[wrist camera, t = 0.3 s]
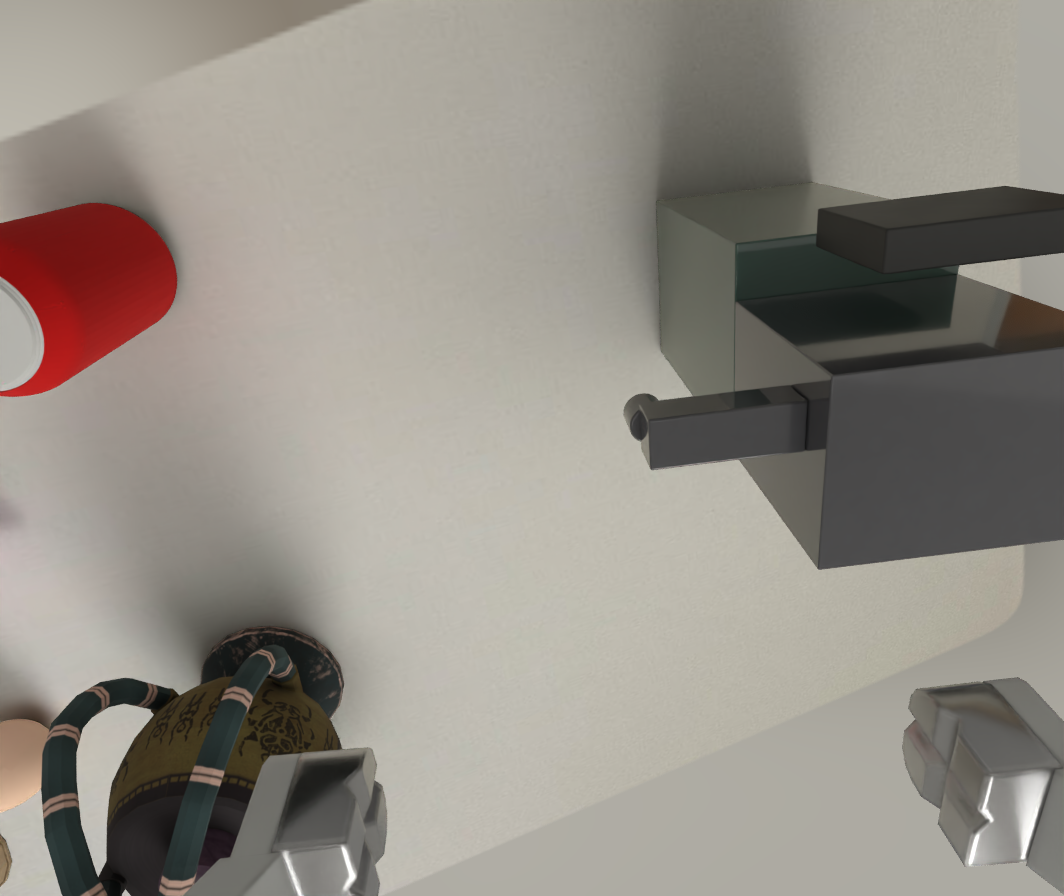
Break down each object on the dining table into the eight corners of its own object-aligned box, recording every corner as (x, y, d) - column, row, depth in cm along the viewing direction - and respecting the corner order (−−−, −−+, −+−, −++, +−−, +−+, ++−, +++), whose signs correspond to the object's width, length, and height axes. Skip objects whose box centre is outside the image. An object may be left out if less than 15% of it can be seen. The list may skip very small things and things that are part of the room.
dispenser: (561, 211, 37) (641, 321, 18) (813, 181, 37) (1162, 258, 18) (574, 362, 40) (653, 591, 21) (804, 334, 40) (1091, 536, 21)
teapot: (315, 551, 44) (159, 951, 23) (430, 824, 55) (394, 1271, 34) (125, 593, 45) (-195, 1023, 24) (276, 856, 55) (146, 1316, 34)
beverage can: (118, 173, 35) (-48, 203, 24) (211, 281, 37) (99, 353, 26) (28, 246, 36) (-170, 306, 25) (124, 347, 38) (-19, 441, 27)
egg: (-25, 725, 48) (-89, 801, 43) (27, 688, 47) (-31, 762, 42) (38, 768, 50) (-15, 846, 45) (90, 734, 49) (42, 810, 44)
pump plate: (816, 208, 23) (886, 228, 19) (1006, 185, 23) (1115, 201, 19) (815, 247, 23) (882, 275, 19) (1000, 224, 23) (1105, 248, 19)
